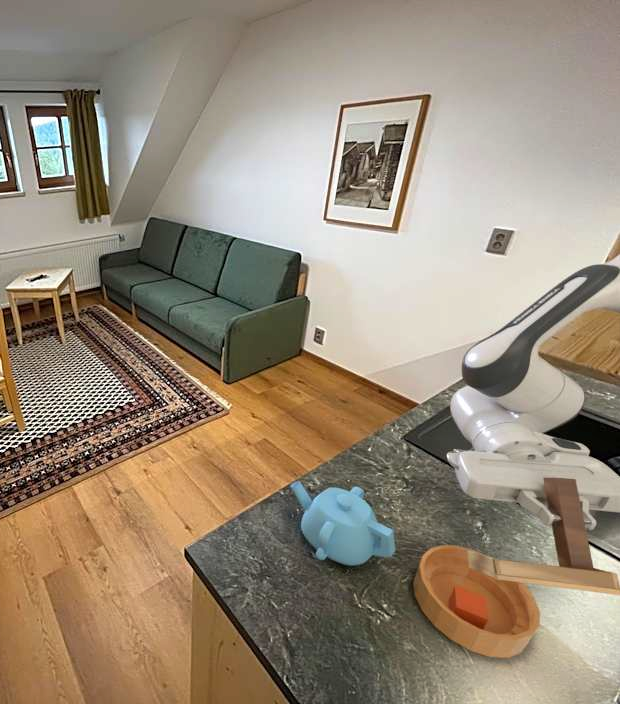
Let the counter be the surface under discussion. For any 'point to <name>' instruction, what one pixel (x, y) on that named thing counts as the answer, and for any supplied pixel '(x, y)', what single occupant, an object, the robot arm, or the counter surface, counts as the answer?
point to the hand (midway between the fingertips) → (571, 524)
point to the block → (469, 606)
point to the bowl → (501, 596)
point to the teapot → (343, 526)
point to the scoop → (569, 547)
